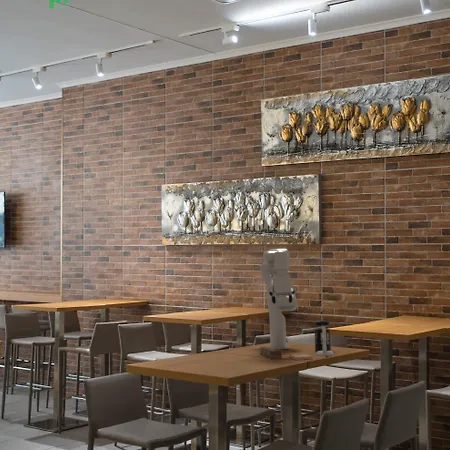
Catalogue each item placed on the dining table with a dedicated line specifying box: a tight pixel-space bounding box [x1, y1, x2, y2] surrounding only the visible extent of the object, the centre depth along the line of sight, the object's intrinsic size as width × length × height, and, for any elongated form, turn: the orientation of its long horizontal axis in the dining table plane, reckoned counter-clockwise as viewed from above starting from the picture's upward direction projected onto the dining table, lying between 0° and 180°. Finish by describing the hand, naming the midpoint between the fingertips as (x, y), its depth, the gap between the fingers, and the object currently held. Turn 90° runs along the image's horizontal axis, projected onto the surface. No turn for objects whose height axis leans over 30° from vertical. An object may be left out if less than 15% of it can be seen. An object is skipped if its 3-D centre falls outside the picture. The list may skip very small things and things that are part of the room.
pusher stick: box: [259, 346, 283, 360], centre depth 412 cm, size 23×6×4 cm, turn 15°
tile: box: [289, 353, 313, 361], centre depth 398 cm, size 2×9×10 cm
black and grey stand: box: [315, 326, 335, 357], centre depth 411 cm, size 10×10×15 cm
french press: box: [313, 310, 332, 353], centre depth 428 cm, size 12×9×23 cm
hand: (282, 303), depth 424 cm, fingers open, 9 cm apart
